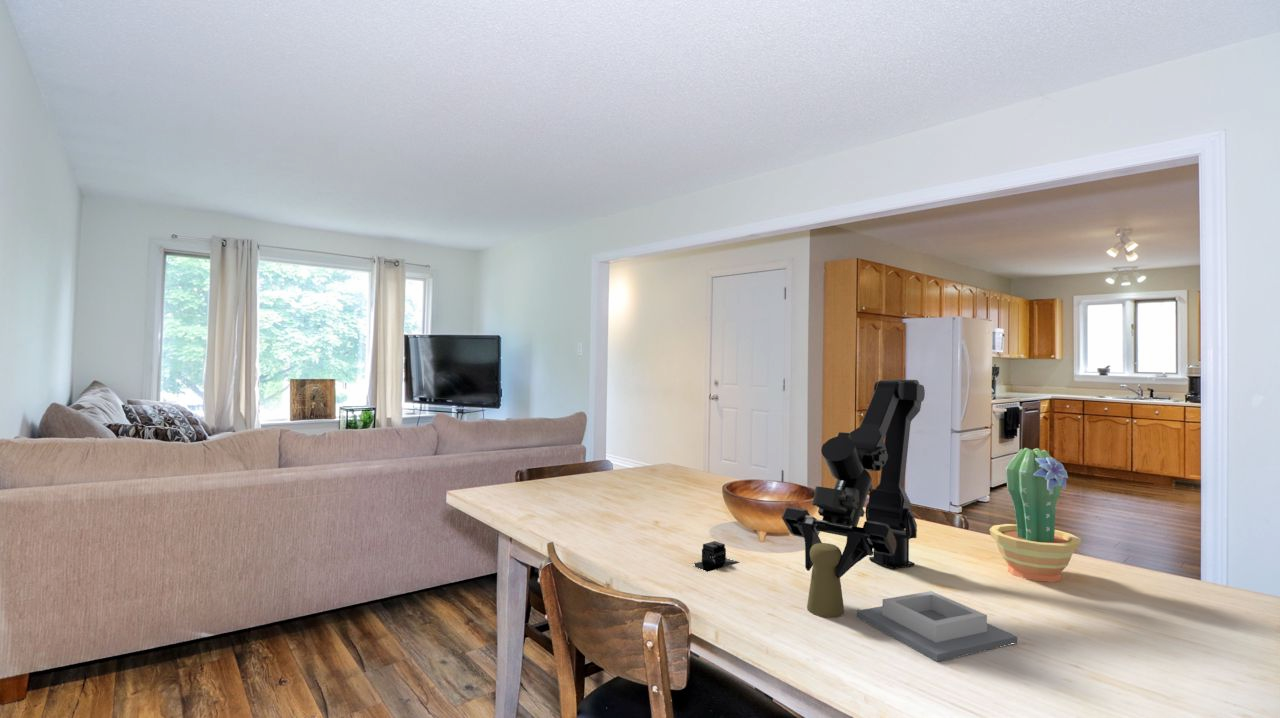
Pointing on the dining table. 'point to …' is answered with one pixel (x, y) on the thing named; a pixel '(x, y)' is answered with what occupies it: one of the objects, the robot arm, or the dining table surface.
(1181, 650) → the dining table surface
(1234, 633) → the dining table surface
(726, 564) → the black bracket mount
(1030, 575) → the potted cactus
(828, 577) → the cork
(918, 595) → the socket plate
